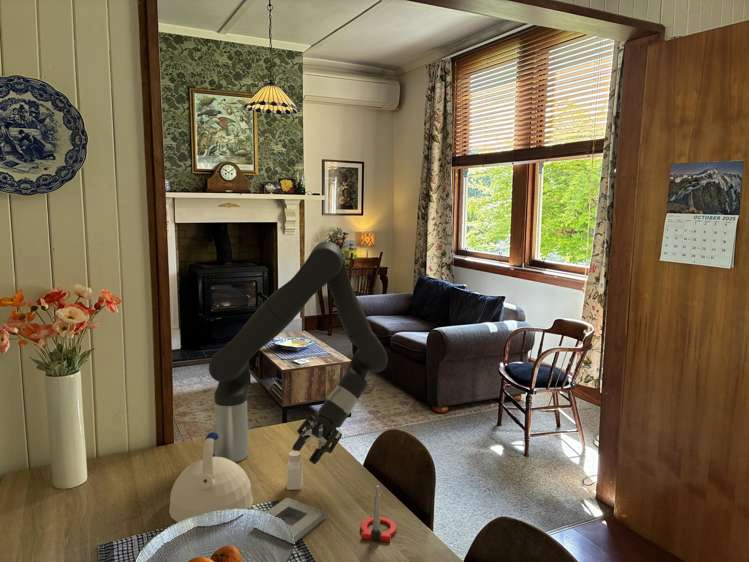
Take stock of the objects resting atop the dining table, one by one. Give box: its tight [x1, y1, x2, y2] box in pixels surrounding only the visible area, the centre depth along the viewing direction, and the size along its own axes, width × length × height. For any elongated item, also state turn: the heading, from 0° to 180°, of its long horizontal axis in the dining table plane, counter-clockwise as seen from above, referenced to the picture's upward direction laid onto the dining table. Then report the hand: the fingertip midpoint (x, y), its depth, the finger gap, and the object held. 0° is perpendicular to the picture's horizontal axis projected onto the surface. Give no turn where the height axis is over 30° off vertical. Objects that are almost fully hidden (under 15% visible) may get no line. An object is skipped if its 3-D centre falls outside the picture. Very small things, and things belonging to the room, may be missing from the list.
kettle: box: [168, 431, 254, 523], centre depth 141 cm, size 20×21×18 cm
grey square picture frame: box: [265, 497, 327, 543], centre depth 134 cm, size 12×12×2 cm
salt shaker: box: [286, 450, 304, 491], centre depth 150 cm, size 4×4×10 cm
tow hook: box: [360, 485, 398, 543], centre depth 132 cm, size 8×13×9 cm
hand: (303, 456), depth 152 cm, fingers open, 8 cm apart
